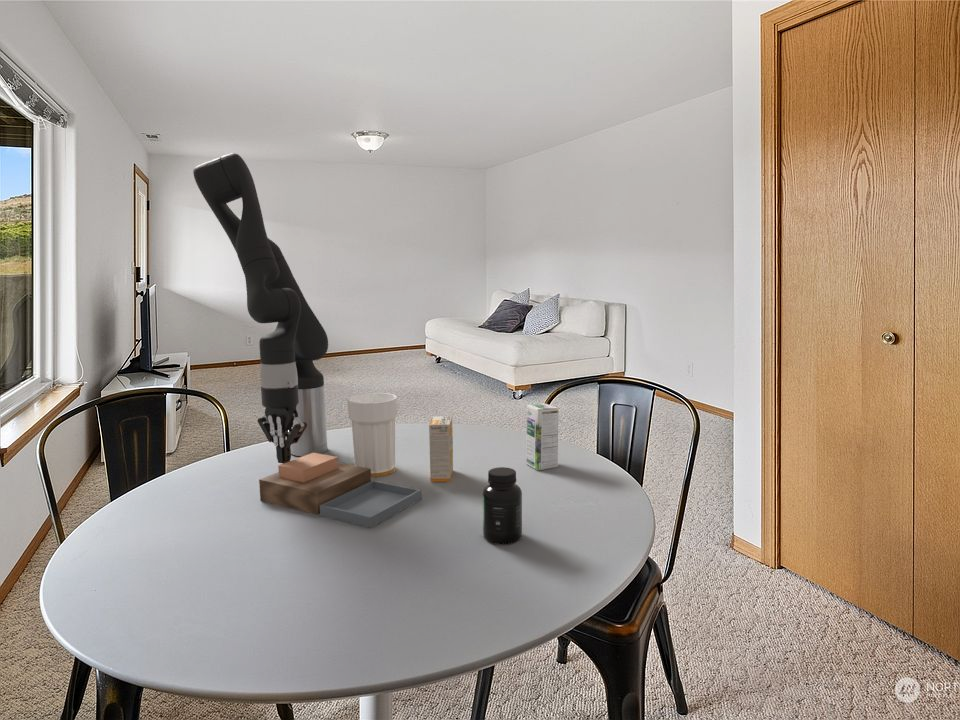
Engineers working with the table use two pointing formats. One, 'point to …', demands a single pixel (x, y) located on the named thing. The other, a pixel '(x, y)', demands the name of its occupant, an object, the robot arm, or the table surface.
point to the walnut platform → (313, 488)
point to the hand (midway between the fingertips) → (284, 462)
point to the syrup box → (542, 436)
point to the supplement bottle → (502, 507)
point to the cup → (374, 431)
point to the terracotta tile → (308, 467)
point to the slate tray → (370, 503)
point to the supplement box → (441, 449)
